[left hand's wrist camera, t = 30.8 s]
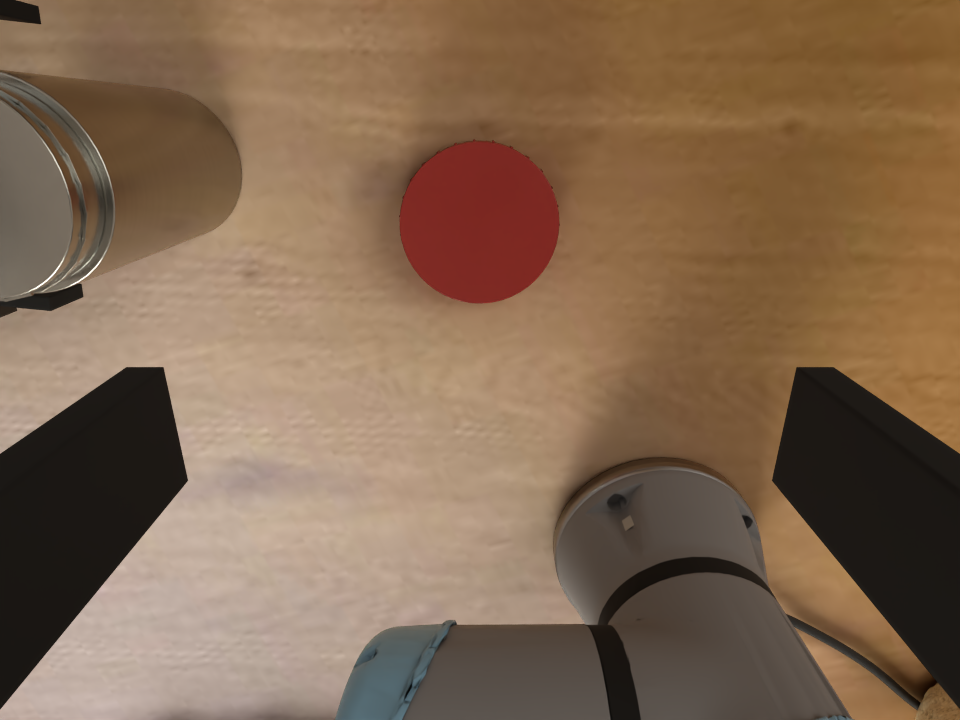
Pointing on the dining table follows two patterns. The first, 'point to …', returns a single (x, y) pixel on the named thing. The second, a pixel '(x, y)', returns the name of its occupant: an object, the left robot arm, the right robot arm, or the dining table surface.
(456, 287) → the lid
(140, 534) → the left robot arm
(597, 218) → the dining table surface
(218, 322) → the dining table surface
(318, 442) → the dining table surface
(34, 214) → the jar
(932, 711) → the bowl
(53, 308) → the right robot arm
